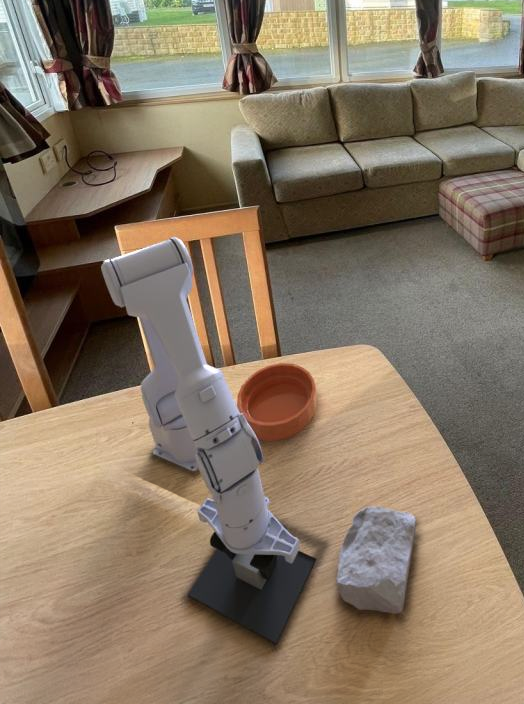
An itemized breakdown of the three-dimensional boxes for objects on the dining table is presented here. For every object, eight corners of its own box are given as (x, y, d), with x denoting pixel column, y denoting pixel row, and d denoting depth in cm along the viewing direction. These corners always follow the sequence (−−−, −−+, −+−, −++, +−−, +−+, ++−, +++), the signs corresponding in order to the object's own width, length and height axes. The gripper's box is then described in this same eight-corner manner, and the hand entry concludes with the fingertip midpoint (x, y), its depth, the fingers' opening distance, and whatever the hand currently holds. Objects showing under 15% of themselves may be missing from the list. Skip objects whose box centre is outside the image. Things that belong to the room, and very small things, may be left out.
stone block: (335, 611, 64) (408, 620, 61) (326, 588, 63) (400, 597, 60) (358, 521, 75) (421, 526, 72) (351, 500, 73) (415, 504, 70)
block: (236, 577, 66) (231, 561, 65) (254, 547, 70) (250, 531, 68) (261, 589, 65) (256, 573, 63) (277, 558, 68) (274, 542, 66)
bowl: (224, 428, 88) (220, 411, 86) (269, 372, 100) (266, 355, 98) (292, 453, 83) (289, 436, 81) (330, 391, 95) (328, 374, 93)
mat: (187, 596, 65) (187, 594, 65) (242, 510, 75) (242, 508, 75) (276, 644, 60) (276, 643, 60) (322, 546, 70) (322, 544, 70)
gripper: (307, 495, 62) (316, 555, 68) (215, 457, 67) (231, 517, 73) (276, 552, 56) (289, 613, 62) (178, 506, 61) (199, 566, 67)
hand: (256, 564), depth 67 cm, fingers closed on block, 4 cm apart
